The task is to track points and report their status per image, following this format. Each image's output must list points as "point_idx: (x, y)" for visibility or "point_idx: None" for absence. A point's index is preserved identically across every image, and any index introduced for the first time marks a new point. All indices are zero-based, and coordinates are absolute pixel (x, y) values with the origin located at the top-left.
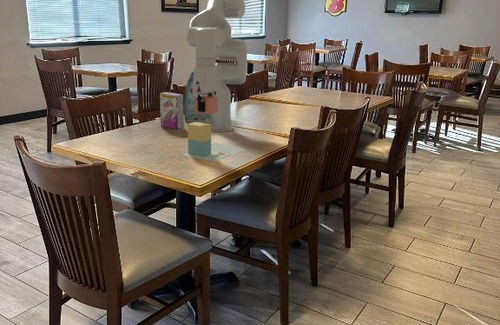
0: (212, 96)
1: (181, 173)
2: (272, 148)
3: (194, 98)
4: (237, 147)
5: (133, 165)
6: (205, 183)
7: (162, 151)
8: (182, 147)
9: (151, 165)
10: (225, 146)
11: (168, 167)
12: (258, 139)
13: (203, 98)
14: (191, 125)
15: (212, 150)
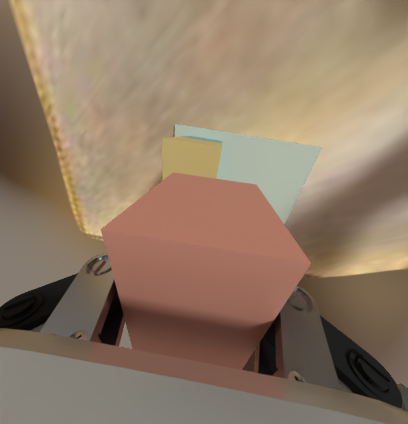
0: (237, 355)
1: (94, 189)
2: None
3: (121, 217)
4: (287, 215)
5: (38, 51)
6: (94, 236)
7: (177, 30)
8: (247, 69)
9: (75, 101)
10: (287, 189)
11: (96, 148)
12: (385, 229)
13: (109, 324)
14: (163, 160)
15: (242, 176)
